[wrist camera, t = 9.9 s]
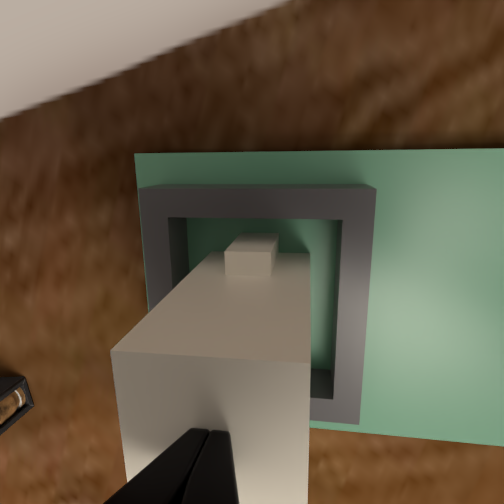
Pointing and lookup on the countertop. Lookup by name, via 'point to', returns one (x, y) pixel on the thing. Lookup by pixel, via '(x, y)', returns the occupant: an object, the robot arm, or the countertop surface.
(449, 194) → the board
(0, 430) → the ammunition clip
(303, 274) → the plug
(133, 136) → the countertop surface
